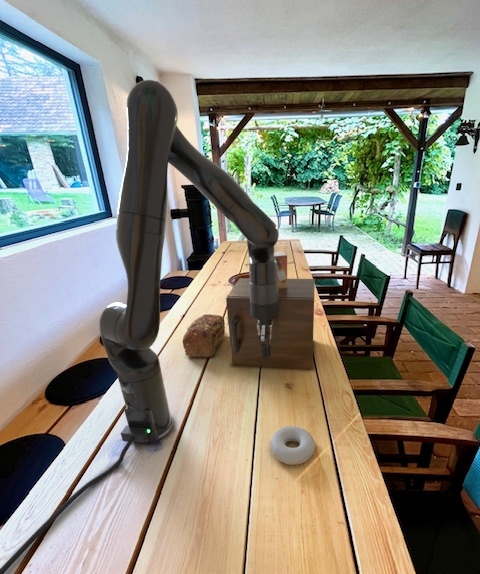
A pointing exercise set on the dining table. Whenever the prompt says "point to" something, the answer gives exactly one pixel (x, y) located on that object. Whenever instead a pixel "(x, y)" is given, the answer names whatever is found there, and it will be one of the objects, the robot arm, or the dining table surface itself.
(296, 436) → the donut
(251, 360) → the cupboard door
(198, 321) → the bread
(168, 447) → the dining table surface
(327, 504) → the dining table surface
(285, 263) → the small box
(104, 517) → the dining table surface
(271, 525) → the dining table surface
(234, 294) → the cupboard
